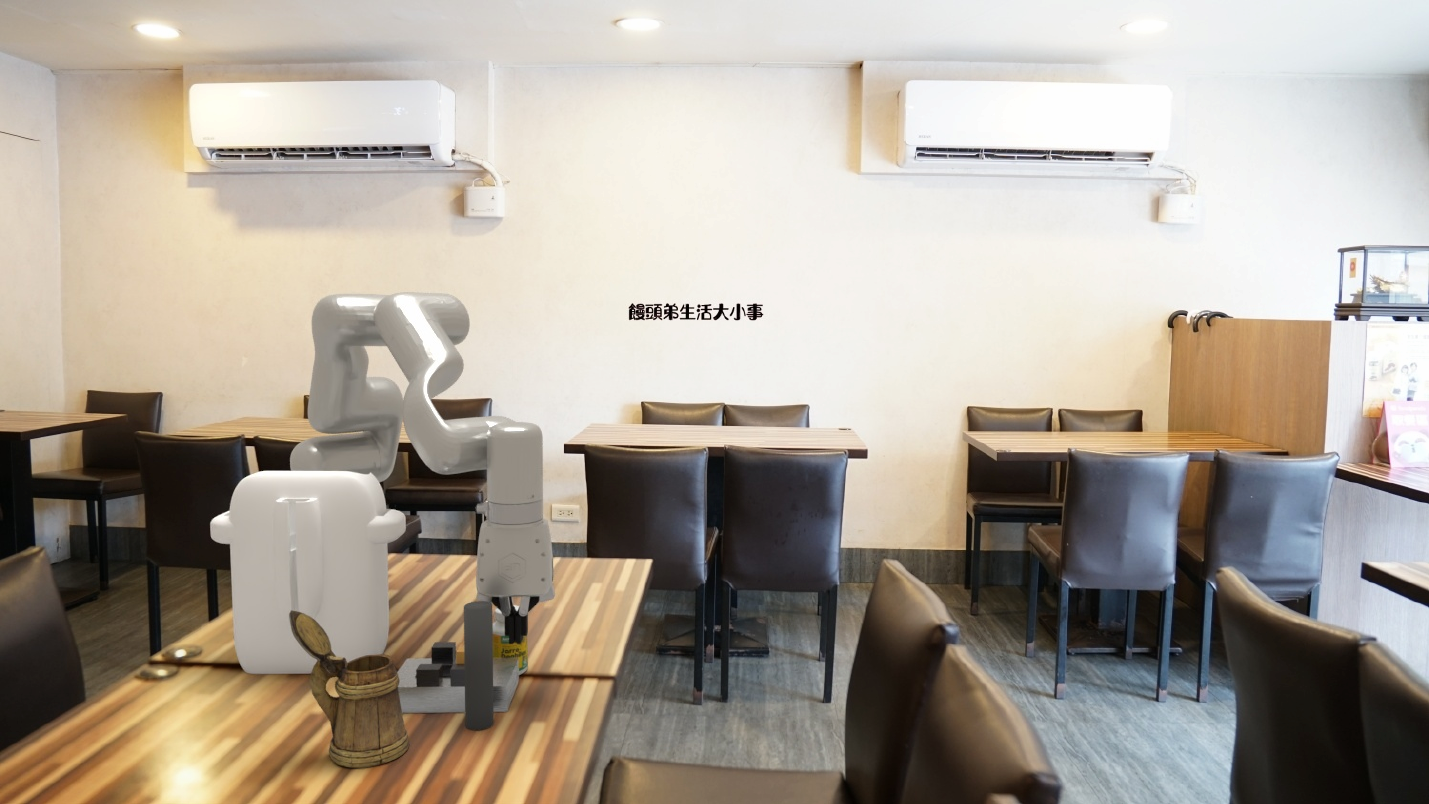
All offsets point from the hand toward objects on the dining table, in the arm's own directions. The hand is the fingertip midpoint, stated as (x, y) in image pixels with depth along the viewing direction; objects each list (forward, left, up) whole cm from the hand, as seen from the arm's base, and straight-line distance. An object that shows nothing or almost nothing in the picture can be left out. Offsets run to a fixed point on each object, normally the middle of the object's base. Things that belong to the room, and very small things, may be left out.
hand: (516, 640), depth 126 cm
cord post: (-4, -8, -8) cm, 12 cm away
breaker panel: (-9, 0, -8) cm, 12 cm away
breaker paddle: (-6, 0, -4) cm, 8 cm away
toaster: (-33, +11, -8) cm, 35 cm away
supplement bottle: (-3, +9, -8) cm, 12 cm away
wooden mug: (-18, -15, -8) cm, 25 cm away
